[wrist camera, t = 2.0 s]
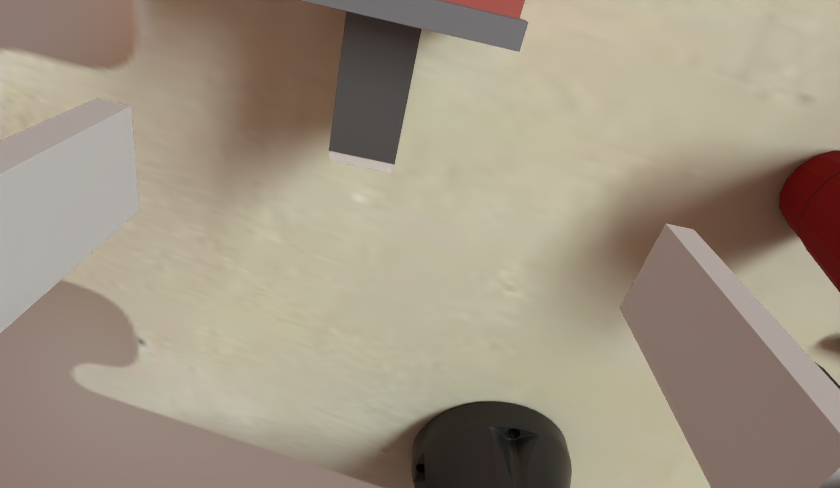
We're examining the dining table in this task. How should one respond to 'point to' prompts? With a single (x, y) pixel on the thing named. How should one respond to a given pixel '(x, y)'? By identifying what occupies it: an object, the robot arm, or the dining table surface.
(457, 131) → the dining table surface
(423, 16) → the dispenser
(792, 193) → the plastic cup
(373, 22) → the white rectangular block
